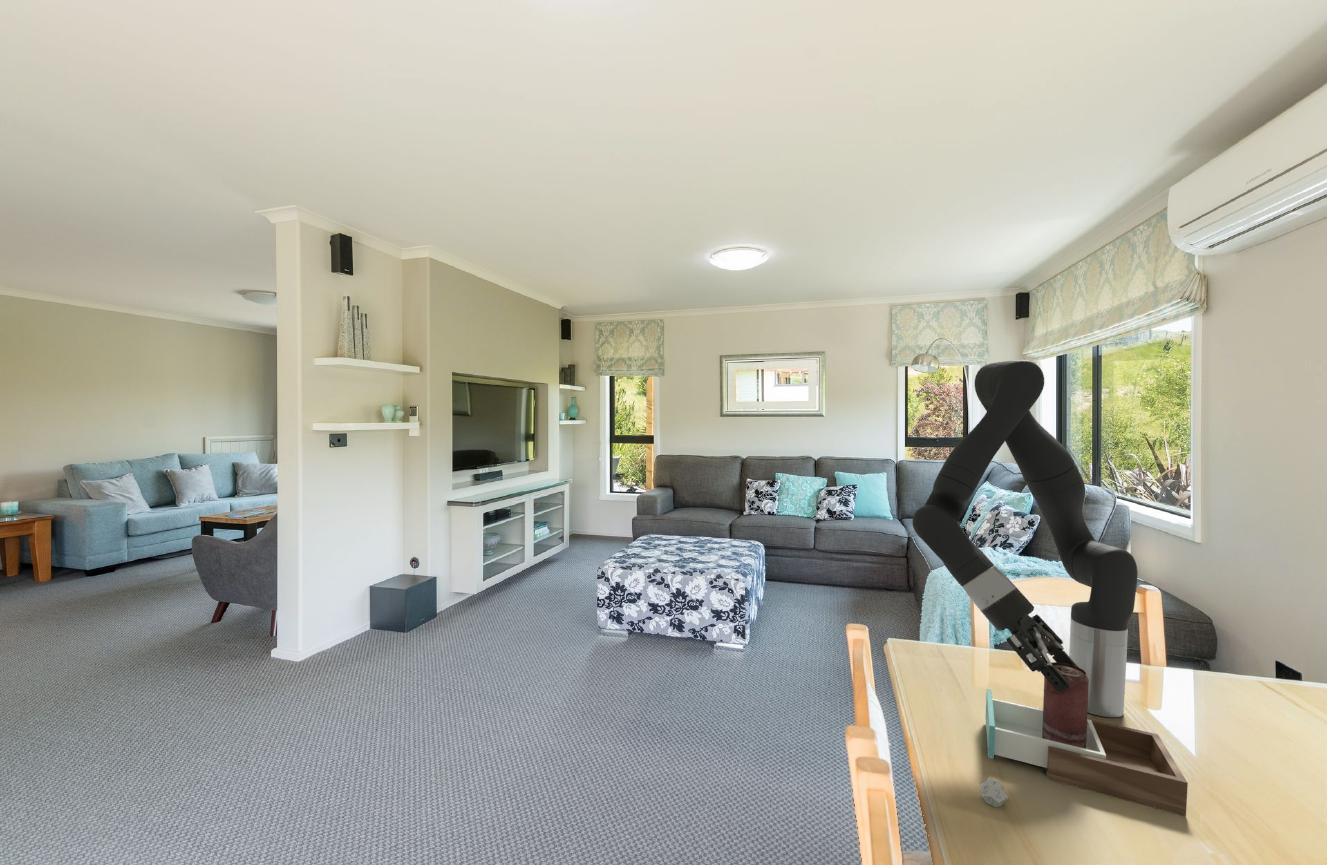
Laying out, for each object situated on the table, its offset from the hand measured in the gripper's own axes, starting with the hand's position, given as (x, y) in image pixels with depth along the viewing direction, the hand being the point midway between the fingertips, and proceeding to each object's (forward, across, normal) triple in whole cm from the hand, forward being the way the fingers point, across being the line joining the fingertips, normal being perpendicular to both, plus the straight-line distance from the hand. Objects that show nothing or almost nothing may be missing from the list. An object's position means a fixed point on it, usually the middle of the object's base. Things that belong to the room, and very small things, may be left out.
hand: (1070, 681), depth 96 cm
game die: (+6, -21, +14) cm, 26 cm away
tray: (+6, -1, +12) cm, 13 cm away
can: (+8, 0, +9) cm, 12 cm away
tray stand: (+13, +2, +6) cm, 15 cm away
